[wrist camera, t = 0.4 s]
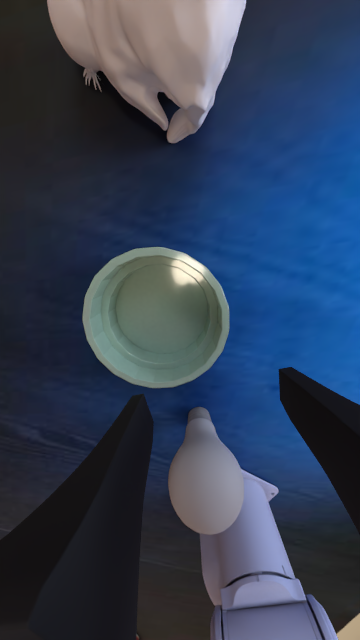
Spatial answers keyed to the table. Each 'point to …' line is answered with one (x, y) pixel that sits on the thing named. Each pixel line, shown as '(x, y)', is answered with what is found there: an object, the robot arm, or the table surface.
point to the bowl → (156, 317)
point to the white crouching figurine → (153, 51)
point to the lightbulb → (205, 478)
